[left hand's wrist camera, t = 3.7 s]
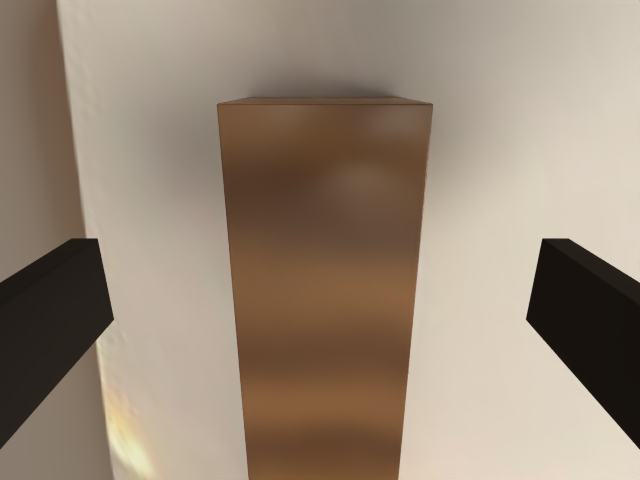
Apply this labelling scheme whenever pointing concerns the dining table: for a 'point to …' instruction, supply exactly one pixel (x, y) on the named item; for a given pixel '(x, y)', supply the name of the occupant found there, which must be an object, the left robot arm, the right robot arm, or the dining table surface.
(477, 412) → the dining table surface
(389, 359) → the wooden square beam
